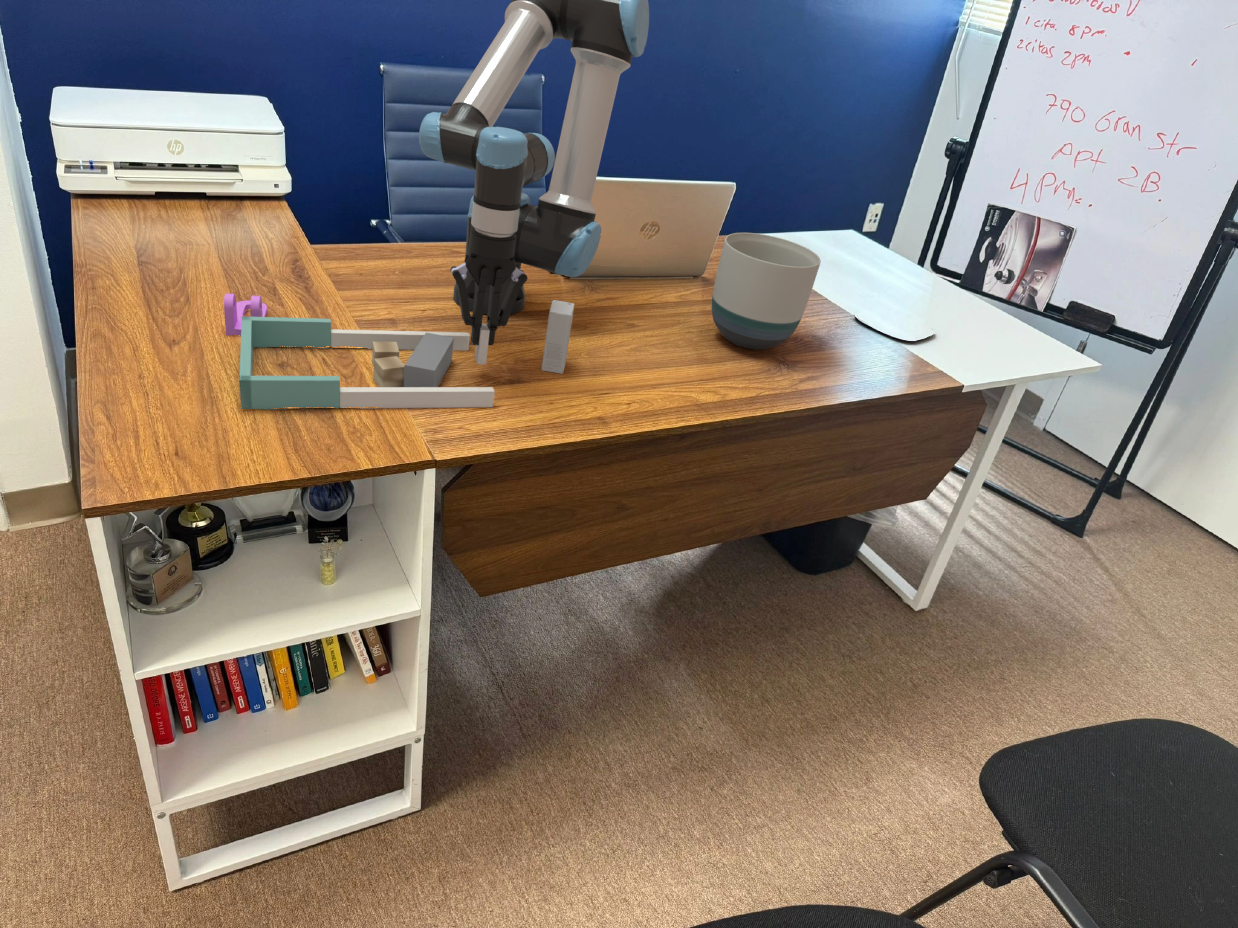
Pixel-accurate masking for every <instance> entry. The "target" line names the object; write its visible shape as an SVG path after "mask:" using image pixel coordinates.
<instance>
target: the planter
mask: <svg viewBox="0 0 1238 928" xmlns="http://www.w3.org/2000/svg"><path fill="white" fill-rule="evenodd" d="M821 261H822V260H821V257H820V256H819V255H818V254H817V253H815V251H813V250H811V249H810V248H807V247H805V246H803V245H802V244H799V243H797V242H794V241H790V240H788V239H786V238H785V239H784V238H781V237H777V236H773V235H768V234H763V233H756V232H755V233H754V232H735V233H734V232H733V233H731V234H728V235H726V237H725V238H724V241H723V245H722V250H721V252H720V257H719V261H718V266H717V271H716V274H715V280H714V285H713V289H712V290H713V291H712V296H711V315H712V320H713V322H714V324H715V326H716V328H717V330H718V331H719V333H720V334H721V335H722V336H723V337H724V338H725V339H727V340H728V341H729V342H730V343H732V344H734V345H736V346H738V347H741V348H743V347H744V349H747V348H748V350H753V349H754V350H756V351H758V350H759V351H761V350H768V349H771V348H775V347H777V346H779V345H782V344H783V343H784V342H786V341H787V340H789V339H790V337H791V336H792V335H793V334H794V332H795V331H796V330H797V328H798V327H799V324H800V322H801V320H802V318H803V316H804V313H805V311H806V307H807V305H808V302H809V299H810V296H811V293H812V291H813V287H814V284H815V281H816V277H817V275H818V271H819V269H820V265H821V263H822V262H821Z"/></svg>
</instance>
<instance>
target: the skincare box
mask: <svg viewBox="0 0 1238 928" xmlns="http://www.w3.org/2000/svg"><path fill="white" fill-rule="evenodd" d="M550 304H551V305H550V308H549V313H548V319H547V327H546V335H545V341H544V347H543V348H544V349H543V355H542V356H543V357H542V363H541V371H543V372H550V373H554V374H560V375H561V374H562V375H563V374H564V371H565V367H566V362H567V356H568V350H569V349H568V348H569V343H570V338H571V337H570V336H571V330H572V323H573V316H574V309H575V303H572V302H567V301H563V300H557V299H552V302H551V303H550Z"/></svg>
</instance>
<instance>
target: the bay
mask: <svg viewBox="0 0 1238 928" xmlns="http://www.w3.org/2000/svg"><path fill="white" fill-rule="evenodd" d="M245 316H246V315H245ZM245 316H242V327H241V336H240V354H239V355H240V358H239V376H238V377H239V378H238V379H239V380H238V381H239V394H240V396H239V397H240V410H242V409H243V410H242V411H244V409H259V410H274V409H273V408H283V407H284V408H285V407H302V408H306V407H309V408H310V407H311V408H313V407H321V408H322V407H323V408H326V407H334V408H339V407H340V387H341V378H340V376H339V375H253V373H254V372H253V369H254V368H253V365H254V364H253V363H254V348H267V347H280V346H281V347H282V346H283V347H284V346H285V347H287V346H288V347H289V346H290V347H291V346H293V347H295V346H296V347H306V346H307V347H308V346H312V347H313V346H314V347H326V346H331V329H332V320H331V318H317V317H315V318H313V317H310V318H309V317H308V318H307V317H279V316H278V317H277V316H276V317H275V316H274V317H273V316H267V317H251V316H246V317H245Z"/></svg>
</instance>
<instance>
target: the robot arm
mask: <svg viewBox="0 0 1238 928" xmlns="http://www.w3.org/2000/svg"><path fill="white" fill-rule="evenodd" d="M649 7H650V5H649V0H511V1H510V3H509V4H508V5H507V7H506V9H505V12H504V23H503V25H502V26H501V27H500V29H499V31H498V32H497V34H496V36H495V37H494V38H493V40H492V41H491V43H490V44H489V46H488V48H487V50H486V51H485V53H484V54H483V56H482V58H481V59H480V61H479V63H478V64H477V66H476V67H475V68H474V70H473V71H472V73H471V74H470V75H469V76H470V77H468V79H467V81H466V83H465V84H464V86H463V87H462V89H461V90H460V92H459V93H458V95H457V96H456V98H455V100H454V102H452V105H451V106H450V107H449V109H448V110H447V112H446V113H443V112H441V111H440V112H436V111H432V112H430V113H427V114H426V115H425V116H424V117H423V119H422V121H421V124H420V127H419V131H418V132H419V133H418V142H419V145H420V150H421V152H422V153H423V154H424V155H425V156H426V157H428V158H430V159H432V160H435V161H438V162H441V163H443V164H446V165H448V164H449V165H451V166H457V167H460V168H464V169H469V170H472V171H475V176H474V177H475V178H474V189H473V190H474V191H473V195H472V197H471V198H470V201H469V209H468V213H467V227H466V242H465V256H464V261H463V263H462V264H460V265H458V266H455V265H454V266H451V267H450V272H451V275H452V277H453V279H454V280H455V284H454V287H453V300H454V302H455V303H456V304H457V305H459V307H460V313H461V314H460V315H461V318H462V320H463V322H464V325H465V326H470V327H471V334H470V341H471V343H472V345H473V346H475V350H474V358H475V359H474V360H475V361H476V364H477V365H487V361H488V360H487V357H488V350H489V346H493V345H494V343H495V337H496V336H495V335H496V331H498V328H499V327H506V326H507V325H508V323H509V321H510V320H509V319H510V317H511V315H514V314H518V313H519V312H521V311H523V310H524V308H525V306H526V291H525V287H524V284H526V282H527V281H528V275H527V274H526V273H525V271H524V270H522V268H521V267H522V264H523V265H526V266H530V267H533V268H537V269H540V270H543V271H547V272H550V273H553V274H554V273H555V275H557V276H558V275H561V276H566V277H570V278H577V277H580V276H581V275H582V274H584V273H585V272H586V271H587V269H588V268H589V266H590V265H591V264H592V261H593V259H594V258H595V255H596V253H597V251H598V247H599V243H600V240H601V234H602V226H601V224H600V223H599V222H597V221H596V220H595V219H596V215H597V211H596V209H595V208H594V206H593V204H592V199H593V194H594V189H595V185H596V181H597V176H598V172H599V167H600V163H601V158H602V153H603V151H604V146H605V140H606V138H607V133H608V129H609V124H610V121H611V115H612V112H613V107H614V102H615V99H616V94H617V90H618V85H619V81H620V76H621V74H622V73H624V72H626V71H627V70H628V69H629V68H631V66H632V65H631V64H632V60H633V57H634V58H637V57H641V56H642V55H643V54H644V52H645V48H646V46H647V42H648V35H649V26H650V8H649ZM554 39H562V40H565V41H570V42H571V47H570V53H571V54H572V56H573V58H574V60H575V66H574V72H573V76H572V81H571V86H570V90H569V94H568V98H567V102H566V103H567V104H566V109H565V113H564V118H563V122H562V127H561V132H560V137H559V141H558V147H557V151H556V154H555V149H554V147H553V144H552V143H551V142H550V140H549V139H548V138H547V137H546V136H545V135H543V134H540V133H536V132H524V133H523V132H521V131H519V130H517V129H514V128H508V127H503V126H494V125H495V123H496V122H497V120H498V118H499V117H500V115H501V113H502V112H503V110H504V108H505V107H506V105H507V104H508V102H509V100H510V99H511V97H512V95H513V93H514V92H515V90H516V89H517V87H518V85H519V84H520V82H521V80H522V79H523V77H524V76H525V74H526V72H527V71H528V69H529V67H530V65H531V64H532V62H533V61H534V59H535V58H536V56H537V54H538V52H539V51H540V50H544V49H545V48H547V47H548V46H549V45H550V44H551V42H552V41H553V40H554ZM552 169H553V170H552ZM551 171H552V173H551ZM550 173H551V179H550V183H549V186H548V191H547V192H545V193H544V194H542V195H541V196H540V197H539V198H538V202H537V203H538V204H537V206H536V205H532V204H530V202H531V200H530V196H529V195H528V194H527V193H525V192H523V188H524V187H525V186H527V185H530V184H533V183H537V182H539V181H540V180H542V179H543V178H544V177H546V176H547V175H548V174H550ZM471 312H472V315H471ZM483 315H487V316H486V323H483Z"/></svg>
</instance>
